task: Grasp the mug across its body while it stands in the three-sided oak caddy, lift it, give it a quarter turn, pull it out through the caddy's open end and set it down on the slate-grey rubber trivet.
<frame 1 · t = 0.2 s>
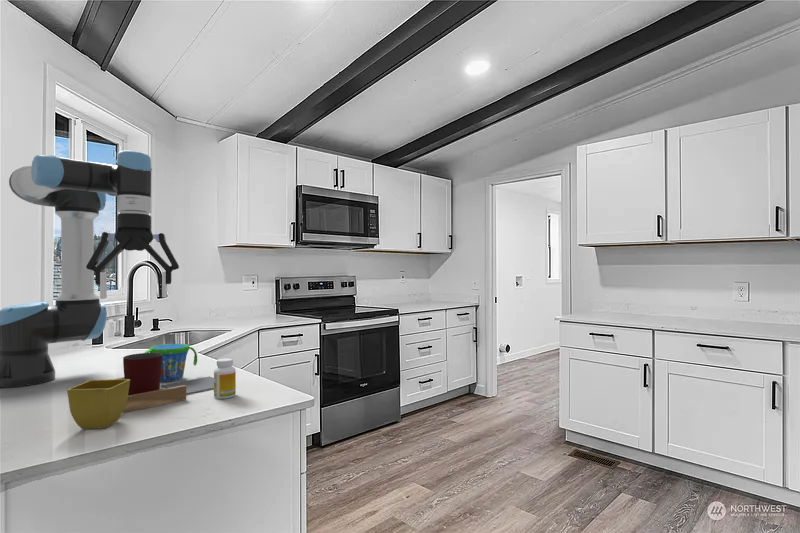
hand: (134, 298, 117), 26 cm above the counter, fingers open, 13 cm apart
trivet: (197, 385, 133), on the counter
mug: (140, 397, 122), on the counter
oak caddy: (140, 396, 122), on the counter
snack cup: (169, 380, 141), on the counter
flower pot: (99, 426, 100), on the counter
supplement bottle: (224, 397, 122), on the counter
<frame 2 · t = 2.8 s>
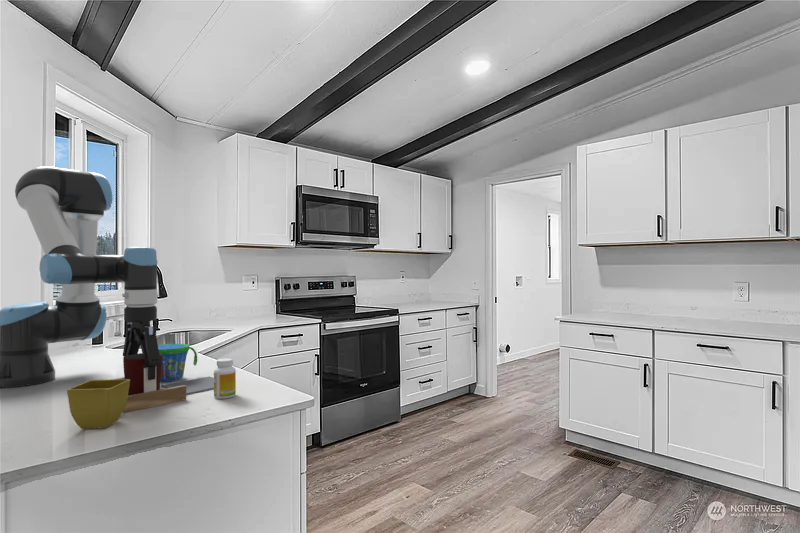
hand: (140, 388, 122), 2 cm above the counter, fingers closed on mug, 12 cm apart
mug: (140, 397, 122), on the counter, touching gripper
everything else where it was.
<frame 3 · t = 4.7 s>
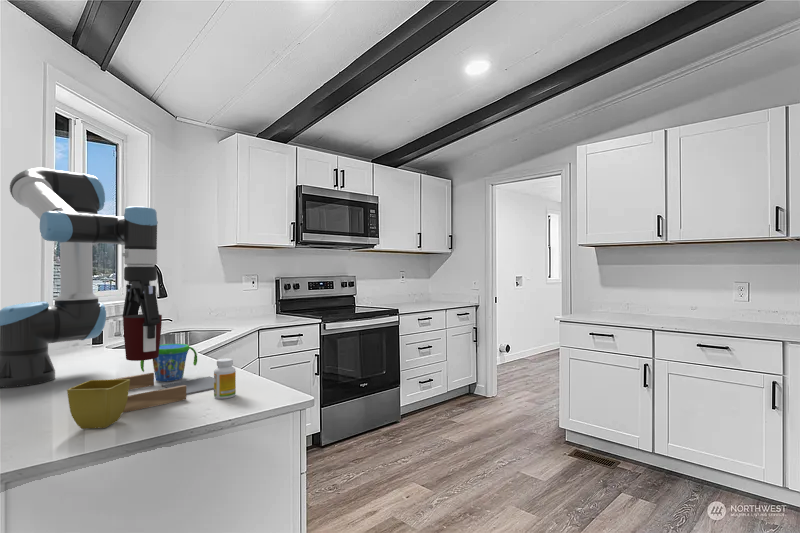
hand: (140, 348, 122), 13 cm above the counter, fingers closed on mug, 12 cm apart
mug: (140, 358, 122), point 10 cm above the counter, touching gripper
everything else where it was.
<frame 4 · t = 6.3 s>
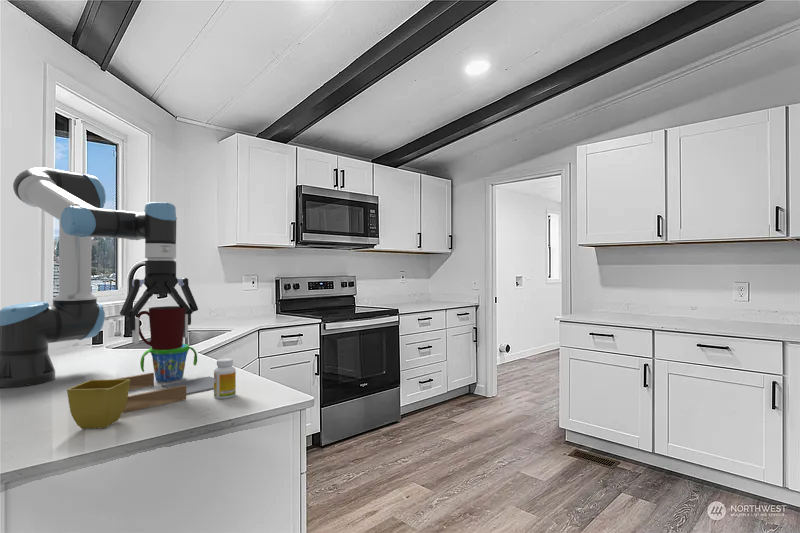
hand: (161, 339, 125), 14 cm above the counter, fingers closed on mug, 12 cm apart
mug: (161, 349, 125), point 12 cm above the counter, touching gripper
everything else where it was.
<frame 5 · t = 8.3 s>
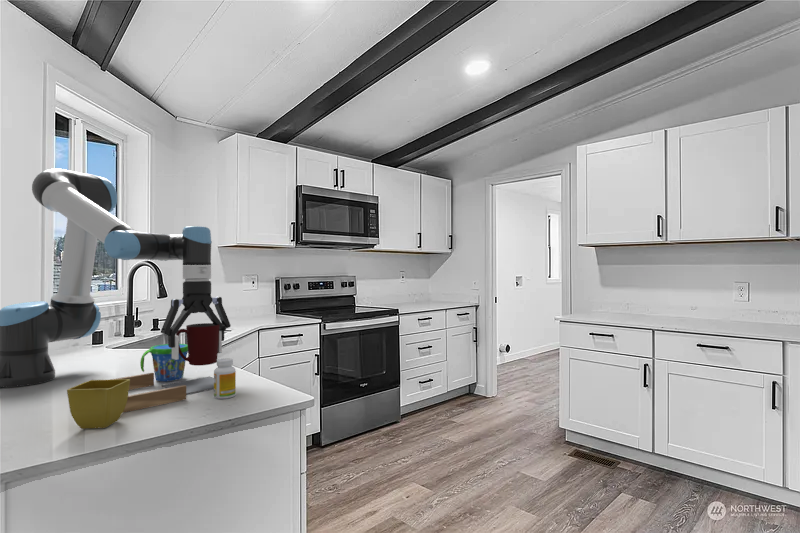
hand: (197, 355, 133), 9 cm above the counter, fingers closed on mug, 12 cm apart
mug: (197, 364, 133), point 6 cm above the counter, touching gripper
everything else where it was.
when the fingers open (4 cm above the counter, at t = 9.8 s): mug stays where it is, resting on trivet.
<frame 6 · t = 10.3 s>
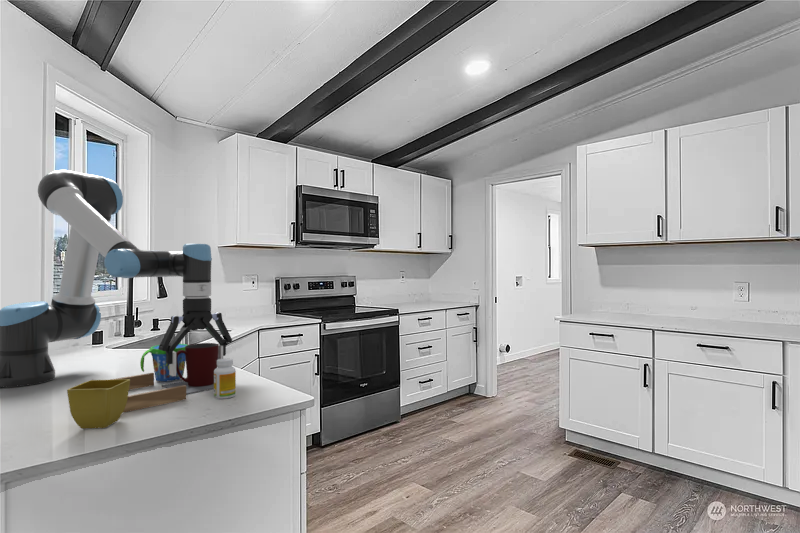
hand: (197, 371, 133), 4 cm above the counter, fingers open, 13 cm apart
mug: (196, 385, 133), resting on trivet
everything else where it was.
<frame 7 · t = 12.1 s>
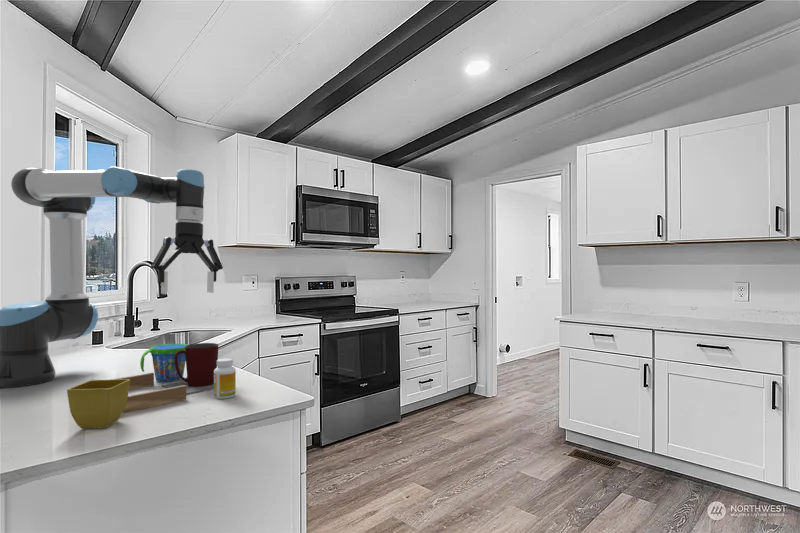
hand: (188, 293, 138), 26 cm above the counter, fingers open, 13 cm apart
nothing on the counter moved.
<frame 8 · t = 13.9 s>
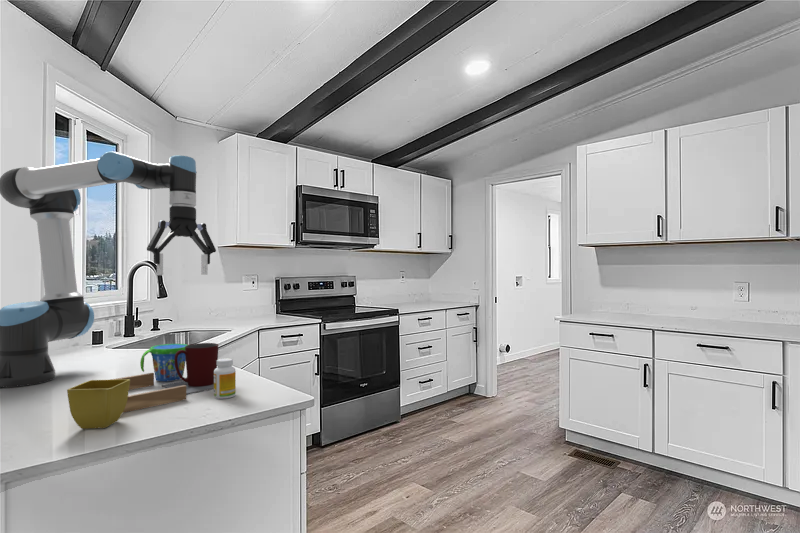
hand: (182, 275, 144), 32 cm above the counter, fingers open, 13 cm apart
nothing on the counter moved.
at the end: mug inside the target area (0.2 cm from its centre), resting on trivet; mug tilted 0°; the gripper is holding nothing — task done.
